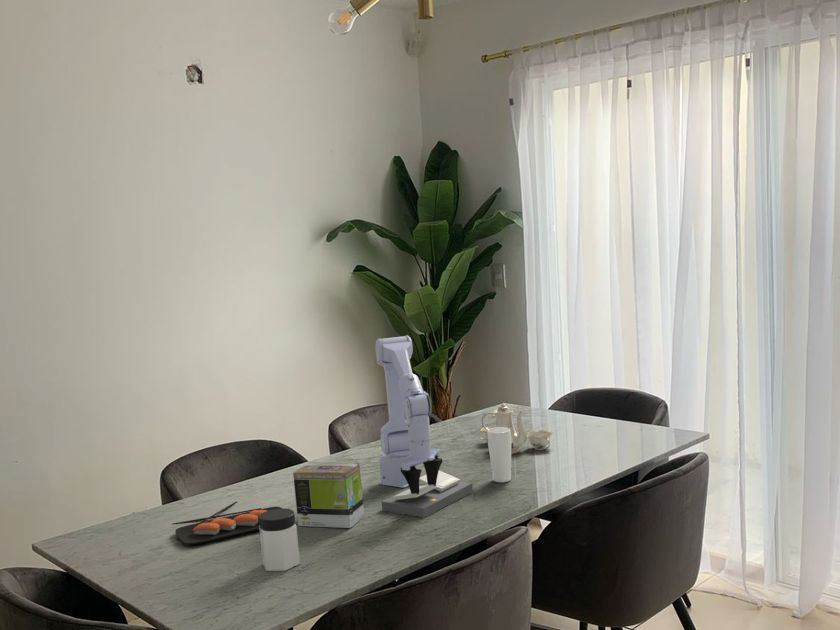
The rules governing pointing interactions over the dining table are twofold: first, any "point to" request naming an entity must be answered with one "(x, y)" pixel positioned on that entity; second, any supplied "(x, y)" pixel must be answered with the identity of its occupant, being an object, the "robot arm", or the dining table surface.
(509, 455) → the drinking glass
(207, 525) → the sushi plate
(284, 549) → the jar
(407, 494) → the switch
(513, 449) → the chinaware
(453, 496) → the switch panel
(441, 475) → the switch
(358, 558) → the dining table surface
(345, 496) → the tea box
